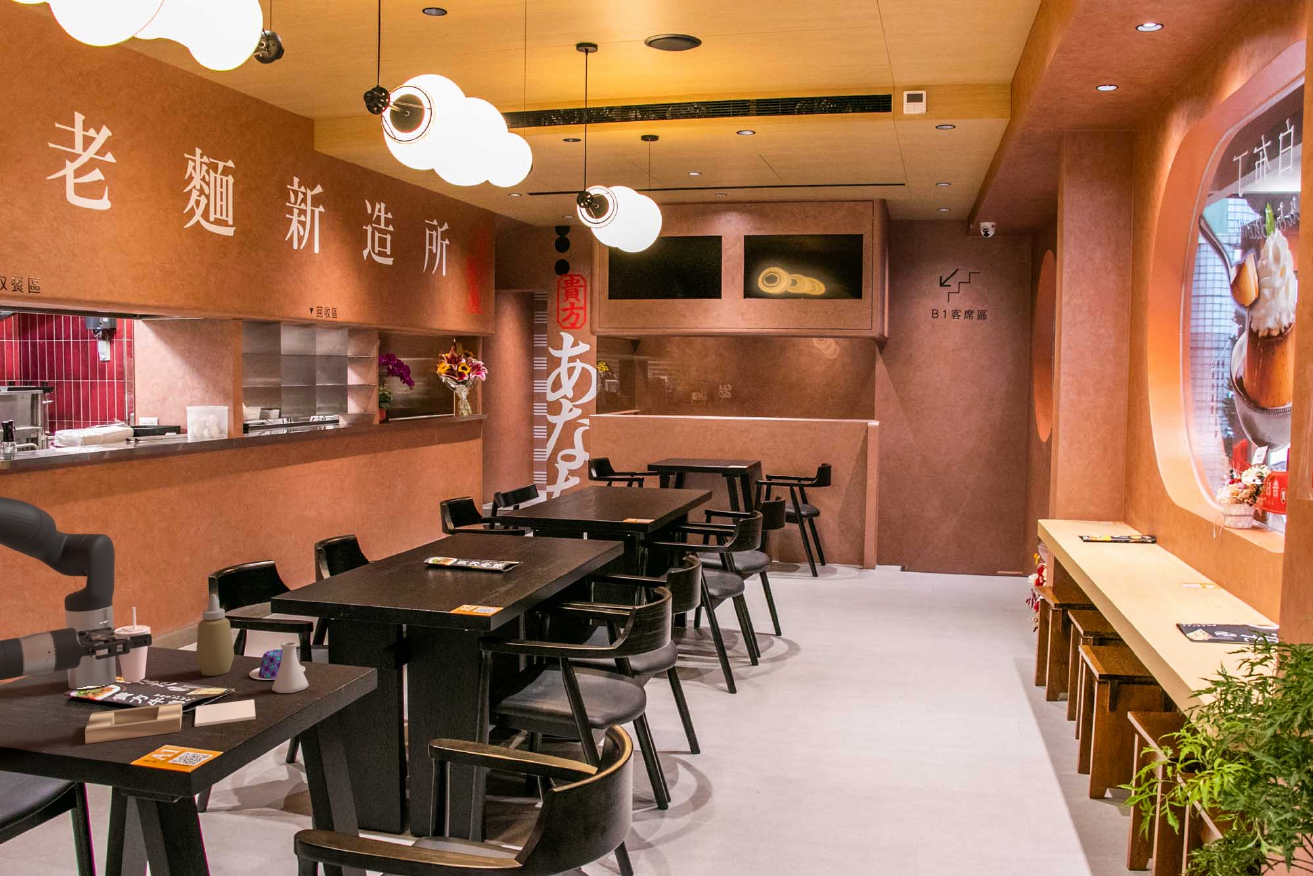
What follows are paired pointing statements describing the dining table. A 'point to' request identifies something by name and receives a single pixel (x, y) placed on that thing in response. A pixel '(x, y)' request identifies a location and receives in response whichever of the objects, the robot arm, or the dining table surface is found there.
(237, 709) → the ceramic pad
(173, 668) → the dining table surface
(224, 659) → the squeeze bottle
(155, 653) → the dining table surface
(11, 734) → the dining table surface
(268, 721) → the dining table surface
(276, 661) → the pudding
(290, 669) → the flask
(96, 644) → the robot arm
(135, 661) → the smoothie
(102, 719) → the collar
